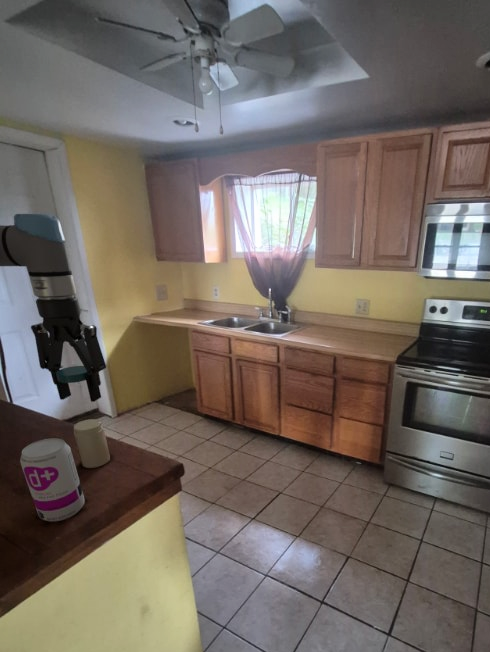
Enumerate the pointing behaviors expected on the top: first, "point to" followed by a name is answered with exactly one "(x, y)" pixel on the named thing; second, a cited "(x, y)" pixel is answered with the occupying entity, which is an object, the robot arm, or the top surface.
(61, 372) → the jar lid
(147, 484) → the top surface
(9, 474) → the top surface
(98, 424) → the jar
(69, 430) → the top surface
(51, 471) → the supplement can
